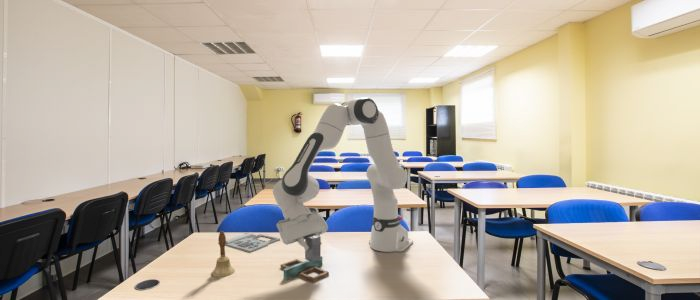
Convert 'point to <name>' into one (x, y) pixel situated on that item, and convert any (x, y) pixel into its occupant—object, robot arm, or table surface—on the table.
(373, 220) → the robot arm
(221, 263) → the hand bell
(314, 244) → the gray block
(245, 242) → the office telephone
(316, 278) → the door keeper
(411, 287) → the table surface
